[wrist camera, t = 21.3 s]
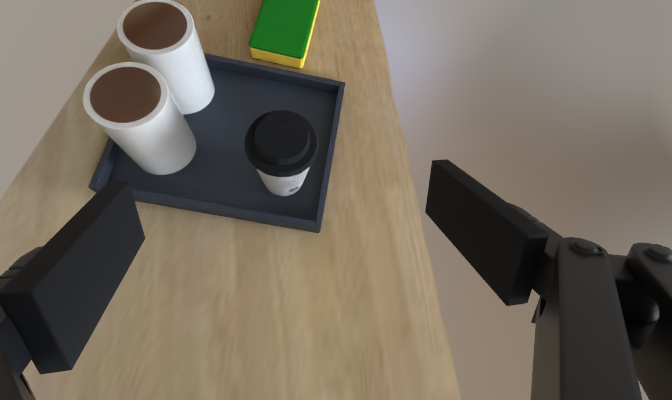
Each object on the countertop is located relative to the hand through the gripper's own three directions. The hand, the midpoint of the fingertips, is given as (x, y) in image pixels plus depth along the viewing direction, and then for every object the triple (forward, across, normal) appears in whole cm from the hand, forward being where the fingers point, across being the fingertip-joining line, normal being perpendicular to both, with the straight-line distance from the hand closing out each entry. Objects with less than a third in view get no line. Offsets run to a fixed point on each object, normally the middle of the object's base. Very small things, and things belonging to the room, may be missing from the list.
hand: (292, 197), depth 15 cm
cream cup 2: (+33, -11, 0) cm, 35 cm away
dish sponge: (+41, +3, +7) cm, 42 cm away
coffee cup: (+24, 0, -9) cm, 26 cm away
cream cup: (+27, -13, -6) cm, 31 cm away
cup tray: (+28, -5, -5) cm, 29 cm away
